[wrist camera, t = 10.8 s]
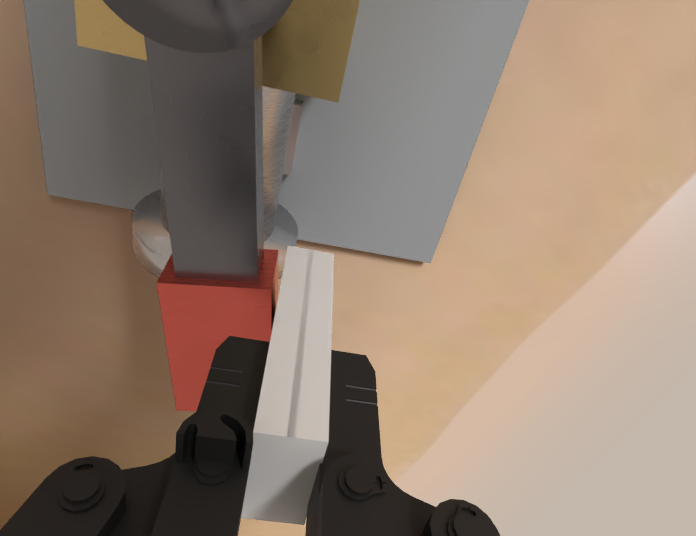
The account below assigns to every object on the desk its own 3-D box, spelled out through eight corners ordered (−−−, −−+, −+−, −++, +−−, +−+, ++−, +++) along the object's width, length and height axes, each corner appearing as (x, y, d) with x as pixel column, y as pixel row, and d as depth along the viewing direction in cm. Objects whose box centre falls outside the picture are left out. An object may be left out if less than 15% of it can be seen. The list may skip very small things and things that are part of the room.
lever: (79, -238, 9) (21, -275, 7) (320, -208, 9) (317, -238, 8) (171, 364, 18) (154, 409, 16) (296, 369, 18) (292, 414, 16)
